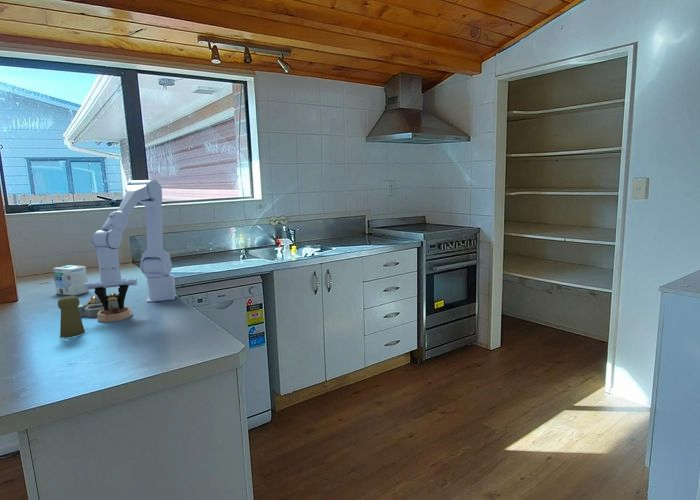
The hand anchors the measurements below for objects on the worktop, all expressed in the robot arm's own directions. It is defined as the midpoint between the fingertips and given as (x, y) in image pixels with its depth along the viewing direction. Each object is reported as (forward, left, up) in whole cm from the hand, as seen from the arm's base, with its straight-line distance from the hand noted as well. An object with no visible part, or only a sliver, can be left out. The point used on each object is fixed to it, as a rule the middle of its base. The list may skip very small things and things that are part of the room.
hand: (114, 309), depth 137 cm
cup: (0, 0, -3) cm, 3 cm away
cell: (0, 0, -2) cm, 2 cm away
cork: (+9, +13, -3) cm, 16 cm away
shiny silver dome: (+6, -7, -2) cm, 9 cm away
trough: (+6, -16, -3) cm, 17 cm away
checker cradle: (+6, -7, -3) cm, 10 cm away
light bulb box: (+22, -46, -3) cm, 51 cm away
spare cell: (+6, -16, -3) cm, 17 cm away
